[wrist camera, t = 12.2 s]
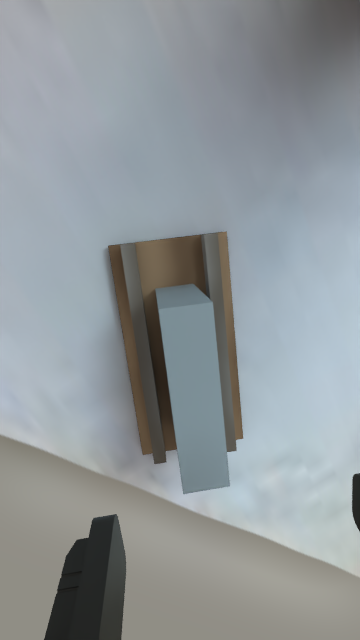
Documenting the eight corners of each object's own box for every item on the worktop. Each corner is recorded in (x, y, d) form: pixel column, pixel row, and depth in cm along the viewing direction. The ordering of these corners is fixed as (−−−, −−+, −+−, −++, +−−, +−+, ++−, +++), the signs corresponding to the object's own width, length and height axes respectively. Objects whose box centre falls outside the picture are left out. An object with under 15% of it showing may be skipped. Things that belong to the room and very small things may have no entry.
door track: (223, 231, 26) (231, 231, 24) (240, 432, 31) (247, 448, 28) (109, 245, 26) (105, 246, 23) (143, 448, 30) (142, 466, 28)
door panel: (193, 283, 26) (212, 302, 18) (207, 420, 29) (229, 486, 21) (155, 288, 26) (158, 309, 18) (173, 425, 29) (183, 494, 21)
